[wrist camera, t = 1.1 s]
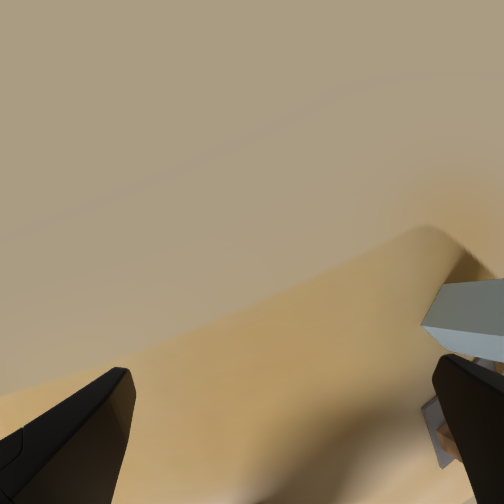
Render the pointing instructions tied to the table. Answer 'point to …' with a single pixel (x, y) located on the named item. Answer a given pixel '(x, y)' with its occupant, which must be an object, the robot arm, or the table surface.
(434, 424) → the mat
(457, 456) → the ridge
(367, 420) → the table surface
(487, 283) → the block
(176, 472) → the table surface
